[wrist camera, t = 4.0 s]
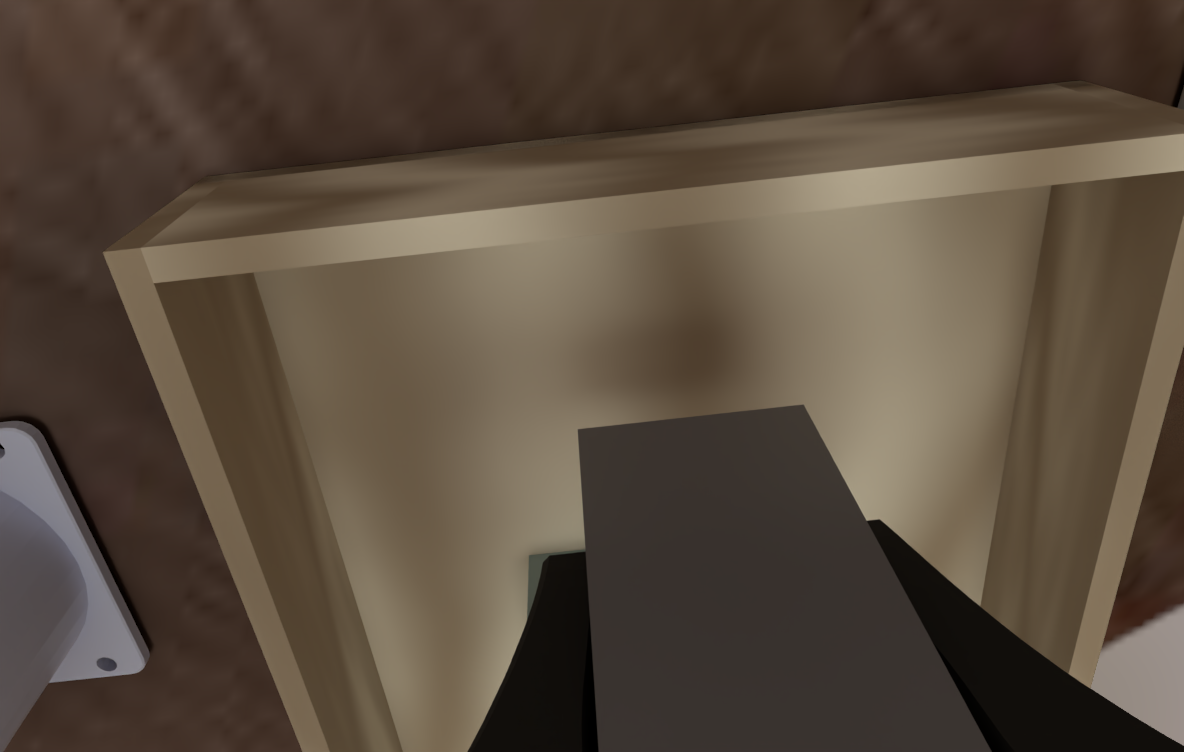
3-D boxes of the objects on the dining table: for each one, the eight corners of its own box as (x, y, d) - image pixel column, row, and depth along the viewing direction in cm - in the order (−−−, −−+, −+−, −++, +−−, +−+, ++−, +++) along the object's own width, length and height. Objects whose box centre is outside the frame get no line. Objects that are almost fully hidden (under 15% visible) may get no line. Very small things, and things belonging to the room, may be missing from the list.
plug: (598, 598, 15) (647, 1197, 8) (577, 429, 13) (614, 1002, 6) (798, 576, 15) (1025, 1157, 8) (803, 404, 13) (1099, 949, 6)
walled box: (404, 794, 27) (380, 945, 23) (205, 176, 17) (102, 252, 13) (966, 734, 27) (1039, 876, 23) (1081, 80, 17) (1242, 127, 13)
